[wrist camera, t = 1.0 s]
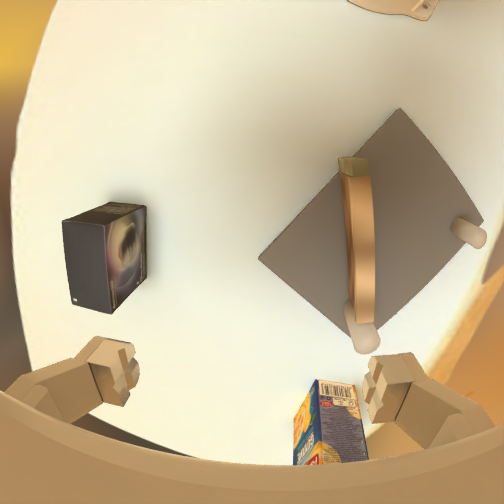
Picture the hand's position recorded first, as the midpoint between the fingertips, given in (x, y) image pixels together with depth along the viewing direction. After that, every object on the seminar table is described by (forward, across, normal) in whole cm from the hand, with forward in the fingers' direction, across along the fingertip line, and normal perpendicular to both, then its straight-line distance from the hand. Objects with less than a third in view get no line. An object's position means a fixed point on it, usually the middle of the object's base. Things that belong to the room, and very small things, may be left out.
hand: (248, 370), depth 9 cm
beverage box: (+28, -10, +31) cm, 43 cm away
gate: (+25, -10, +1) cm, 27 cm away
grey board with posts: (+26, -14, +1) cm, 30 cm away
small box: (+28, +19, +3) cm, 34 cm away
